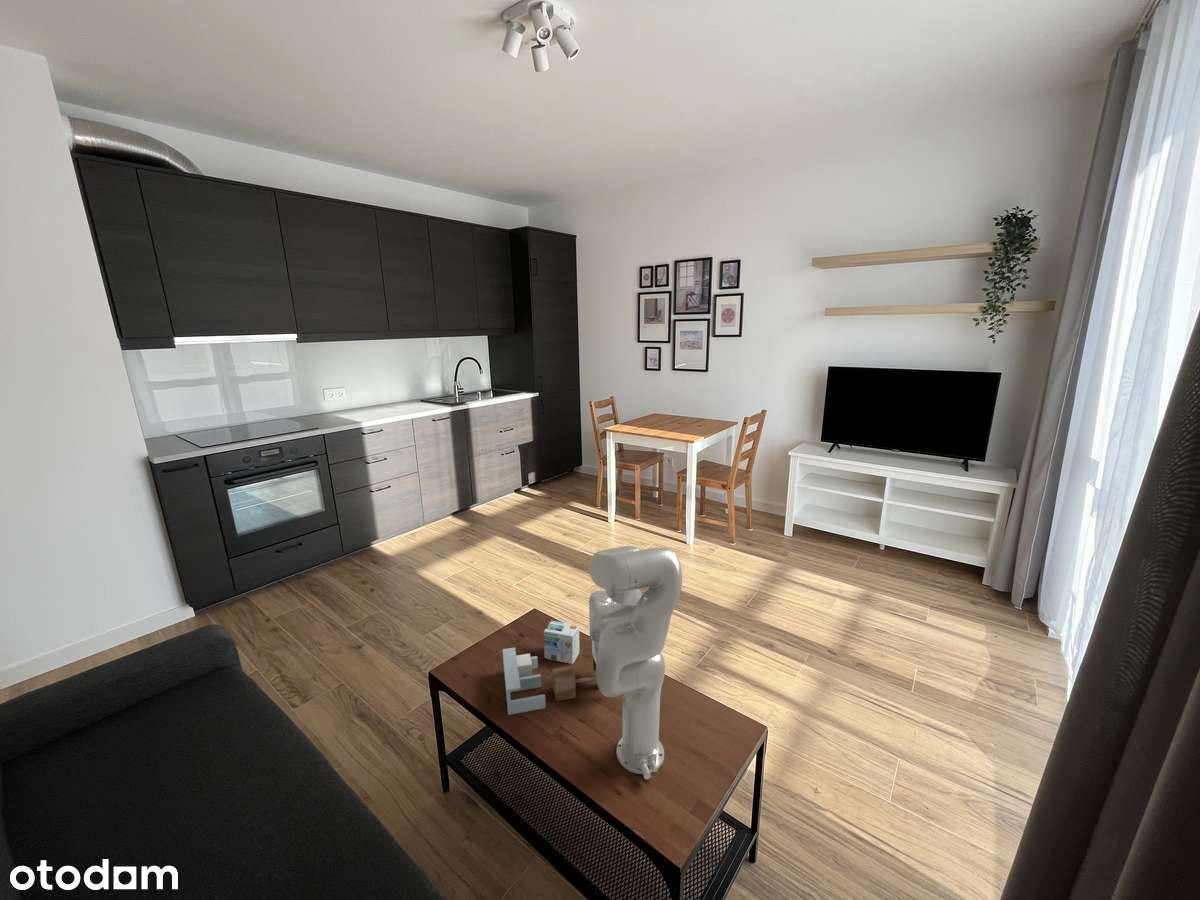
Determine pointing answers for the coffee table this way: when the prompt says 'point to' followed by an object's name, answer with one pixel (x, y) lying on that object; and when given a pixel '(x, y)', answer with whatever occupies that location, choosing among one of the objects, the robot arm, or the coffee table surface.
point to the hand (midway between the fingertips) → (602, 679)
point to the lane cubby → (520, 684)
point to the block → (524, 665)
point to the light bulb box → (561, 642)
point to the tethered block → (566, 683)
